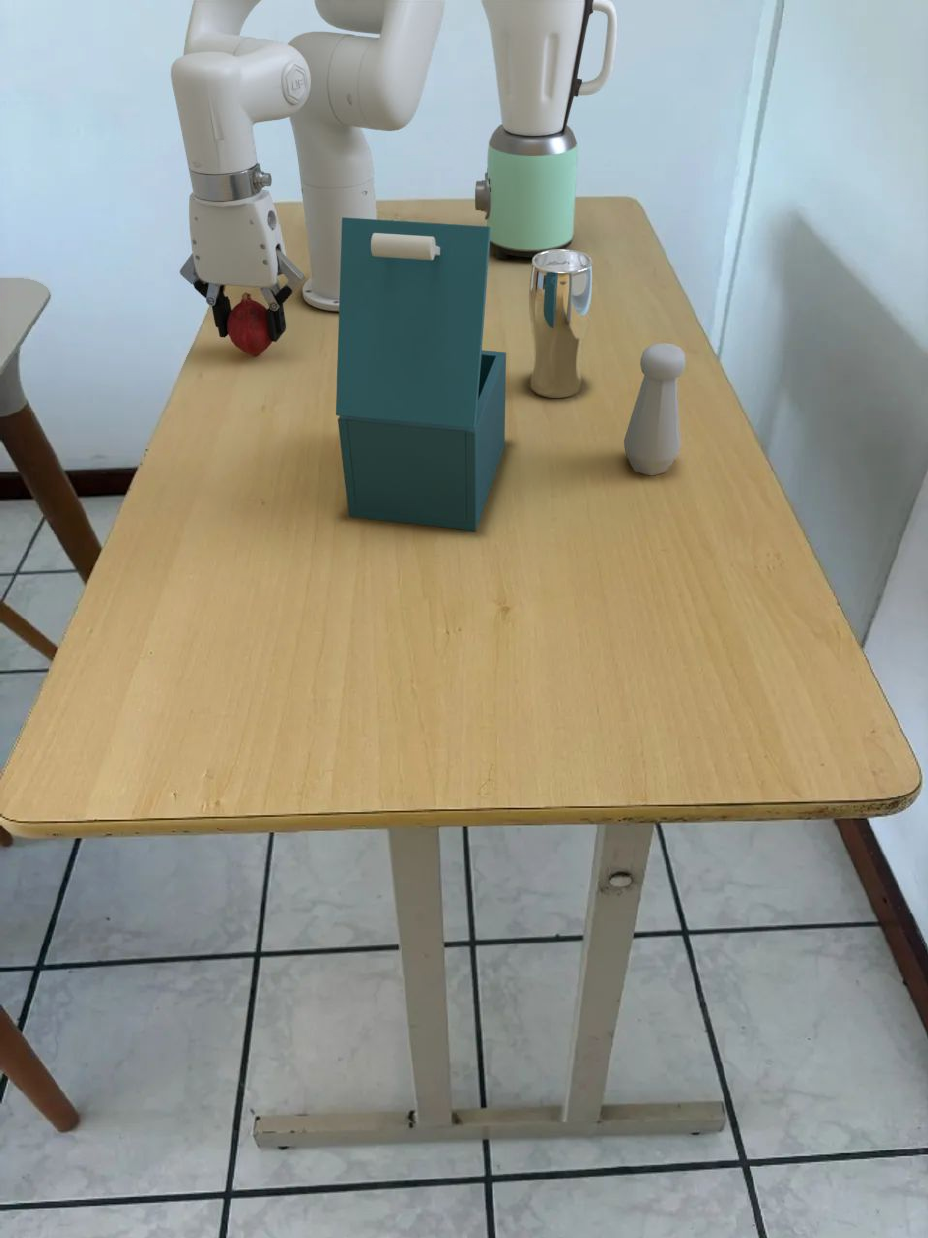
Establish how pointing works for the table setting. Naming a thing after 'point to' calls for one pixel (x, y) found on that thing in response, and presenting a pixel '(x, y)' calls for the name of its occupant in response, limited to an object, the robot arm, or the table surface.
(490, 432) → the cool box
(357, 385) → the lid
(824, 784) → the table surface
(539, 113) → the mint green blender
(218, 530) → the table surface
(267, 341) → the onion
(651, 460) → the salt shaker
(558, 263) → the beer glass
